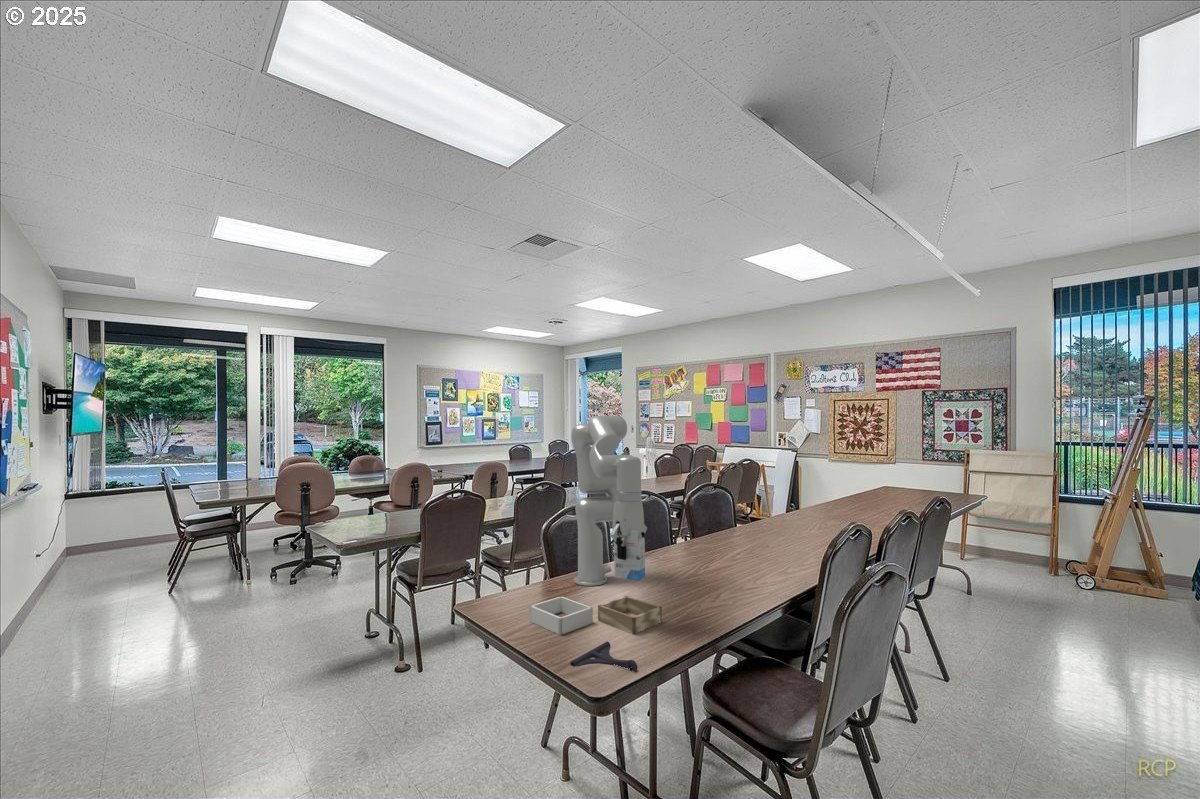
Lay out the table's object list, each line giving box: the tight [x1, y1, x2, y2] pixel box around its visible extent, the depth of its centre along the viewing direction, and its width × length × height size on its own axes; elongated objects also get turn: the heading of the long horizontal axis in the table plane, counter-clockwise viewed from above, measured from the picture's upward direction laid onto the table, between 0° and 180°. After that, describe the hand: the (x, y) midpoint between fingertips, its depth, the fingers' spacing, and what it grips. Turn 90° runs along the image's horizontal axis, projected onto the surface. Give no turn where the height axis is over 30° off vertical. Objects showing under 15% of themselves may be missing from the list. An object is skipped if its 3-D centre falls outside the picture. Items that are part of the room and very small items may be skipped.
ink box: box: [613, 530, 646, 581], centre depth 154 cm, size 9×5×15 cm, turn 62°
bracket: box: [569, 641, 638, 672], centre depth 127 cm, size 14×15×3 cm
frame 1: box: [528, 595, 594, 636], centre depth 153 cm, size 13×15×4 cm
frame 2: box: [597, 595, 663, 635], centre depth 153 cm, size 13×15×4 cm
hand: (629, 556), depth 154 cm, fingers closed on ink box, 6 cm apart
